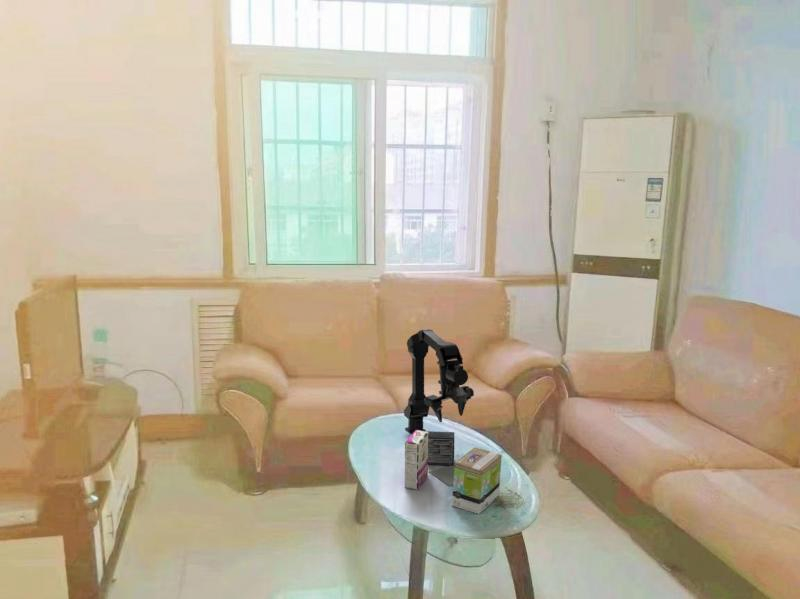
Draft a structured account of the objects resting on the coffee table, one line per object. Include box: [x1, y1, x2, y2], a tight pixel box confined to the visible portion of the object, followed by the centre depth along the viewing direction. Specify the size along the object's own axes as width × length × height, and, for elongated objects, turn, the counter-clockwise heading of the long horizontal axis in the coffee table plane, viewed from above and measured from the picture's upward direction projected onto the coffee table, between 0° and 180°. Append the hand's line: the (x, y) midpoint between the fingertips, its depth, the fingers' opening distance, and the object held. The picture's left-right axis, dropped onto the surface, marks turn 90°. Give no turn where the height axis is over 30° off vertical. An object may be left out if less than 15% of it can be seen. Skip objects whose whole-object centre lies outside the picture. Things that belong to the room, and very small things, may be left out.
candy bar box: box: [404, 430, 429, 491], centre depth 208 cm, size 11×5×16 cm, turn 160°
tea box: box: [451, 446, 503, 515], centre depth 197 cm, size 15×10×15 cm, turn 148°
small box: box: [426, 430, 455, 466], centre depth 225 cm, size 11×6×10 cm, turn 84°
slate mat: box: [428, 464, 455, 487], centre depth 216 cm, size 12×16×1 cm
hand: (450, 418), depth 228 cm, fingers open, 9 cm apart
